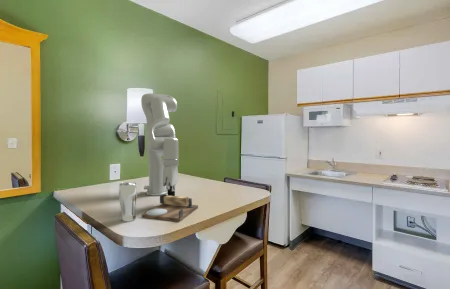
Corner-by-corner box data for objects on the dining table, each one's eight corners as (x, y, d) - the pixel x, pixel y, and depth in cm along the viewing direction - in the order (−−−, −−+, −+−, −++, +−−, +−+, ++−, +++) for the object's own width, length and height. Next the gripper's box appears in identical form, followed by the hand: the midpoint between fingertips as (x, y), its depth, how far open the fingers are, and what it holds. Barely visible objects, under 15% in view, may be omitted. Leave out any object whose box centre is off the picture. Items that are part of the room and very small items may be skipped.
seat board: (141, 217, 105) (141, 205, 104) (164, 204, 123) (164, 194, 123) (180, 221, 100) (180, 208, 99) (198, 207, 118) (197, 197, 118)
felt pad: (141, 214, 105) (141, 214, 105) (153, 208, 113) (153, 207, 113) (160, 216, 102) (160, 216, 102) (171, 210, 111) (171, 209, 111)
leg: (188, 204, 117) (188, 196, 117) (186, 205, 114) (185, 197, 114) (162, 201, 121) (162, 194, 120) (159, 203, 118) (159, 195, 118)
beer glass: (122, 216, 106) (121, 182, 105) (139, 216, 106) (138, 181, 105) (116, 222, 99) (116, 185, 98) (134, 222, 99) (134, 185, 98)
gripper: (169, 160, 130) (169, 194, 131) (157, 164, 115) (158, 202, 116) (182, 160, 129) (183, 195, 130) (172, 164, 114) (173, 203, 115)
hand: (171, 198), depth 123 cm, fingers closed
